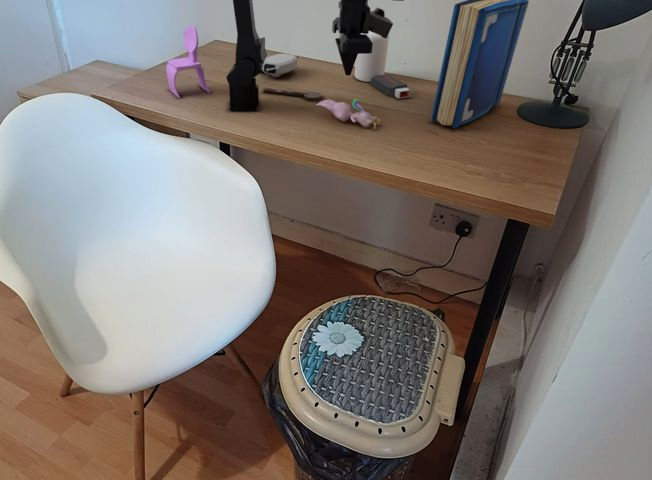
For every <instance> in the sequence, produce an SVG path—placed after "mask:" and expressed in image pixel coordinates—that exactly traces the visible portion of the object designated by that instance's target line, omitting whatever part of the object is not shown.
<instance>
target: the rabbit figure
mask: <svg viewBox="0 0 652 480" xmlns="http://www.w3.org/2000/svg"><path fill="white" fill-rule="evenodd" d="M359 102H361V100H360V99H358V98H354V99H353V100H352V103H351V106H352V107H353V109H354V110H357V111H358V112H352V108H351V106H350V105H349V104H348V103H347V102H341V101H340V102H337V101H335V100H333V99H324V100H320V101H319V102H318V103H316V106H322V107H323V108H325V109H327V110H328V111H330V112H331V113H333V116H334V117H335V118H336V119H338V120H340V121H341V122H344V123H345V122H346V121H349V120H351V122H352V123H354V124H355V123H359V124H360V125H361V126H362V127H363V128H370V127H371V125H372V124H373V130H375V128H376V127H377V125H380V122H381V118H378V116H372V115H371V114H370V112H367V111H366V110H364V108H363V107H362V105H360V104H359ZM375 120H377V121H375Z"/></svg>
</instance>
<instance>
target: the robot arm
mask: <svg viewBox="0 0 652 480" xmlns="http://www.w3.org/2000/svg"><path fill="white" fill-rule="evenodd" d="M393 1H394V2H395V1H399V2H404V1H405V0H393ZM253 2H254V1H253V0H232V4H233V12H234V20H235V27H236V33H237V34H236V45H235V62H234V64H233V65H232V67H231V69H230V70H229V71H228V73H227V75H226V77H225V78H226V81H227V83H228V92H229V93H228V94H229V109H228V110H229V111H231V112H237V111H238V112H239V111H240V112H242V111H244V112H245V111H247V112H249V111H252V112H253V111H258V107H259V105H260V93H259V92H260V89H259V88H260V87H259V84H257V78H256V77H257V76H258V75H259V74H260V72H261V71H262V70H261V68H262V66H263V64H264V61H265V59H266V57H267V54H268V53H267V51H266V37H265V36H263V37H259V34H258V31H257V28H256V20H255V12H254V3H253ZM368 3H369V0H339V1H338V9H339V15H338V16H337V17H335V19H334V20H333V21H332V23H331V24H332V26H331V27H332V28H331V31H332V33H333V34H337V32H338V34H339V35H338V36H339V37H335V39H334V41H335V43H336V47H337V50H338V53H339V58H340V61H341V64H342V68H343V71H344V75H345V76H347V77H348V76H352V72H353V69H354V66H355V65H356V58H357V55H358V54H370V53H372V46H373V43H372V41H371V40H370V38H369V37H368V36H367V35H366V34H368V33H369V31H371V32H373V33H376V34H378V35H381V37H383V38H387V36H388V34H389V35H390V32H391V30H392V27H393V26H394V23H393V21H391V19H390V18H388V17H386V16H385V15H386V13H385V10H384V9H383V8H380V7H376V8H374V10H373V11H372V10H371V7H370V6H369V5H368ZM361 33H363V34H361Z"/></svg>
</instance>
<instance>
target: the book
mask: <svg viewBox="0 0 652 480" xmlns="http://www.w3.org/2000/svg"><path fill="white" fill-rule="evenodd" d="M528 6H529V0H464V1H460V2H457V3H455V4H454V6H453V11H452V14H451V15H452V16H451V19H450V25H449V30H448V35H447V39H446V43H445V49H444V54H443V59H442V62H441V63H442V64H441V69H440V73H439V78H438V81H437V87H436V93H435V97H434V102H433V107H432V112H431V116H430V119H431V121H432V122H435V121H437V122H438V123H439V124H441V125H442V126H451V127H452V129H456V128H459V127H462V126H463V125H466V124H469V123H470V122H473V121H475V120H477V119H479V118H480V117H483V116H484V115H486V114H488V113H489V112H490V111H491V110H492V109H495V108H496V107H498V106H499V105H500V104H501V100H502V96H503V92H504V90H505V87H506V86H505V85H506V83H507V79H508V77H509V72H510V69H511V65H512V62H513V58H514V55H515V51H516V47H517V44H518V40H519V38H520V34H521V31H522V27H523V23H524V20H525V16H526V14H527V9H528Z"/></svg>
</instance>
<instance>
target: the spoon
mask: <svg viewBox="0 0 652 480" xmlns="http://www.w3.org/2000/svg"><path fill="white" fill-rule="evenodd" d="M262 92H263V93H267V94H274V95H275V94H276V95H283V96H291V97H299V98H303V100H305V101H308V102H318V101H319V102H320V101H322V94H321V92H319V91H306V92H301V91H295V90H294V91H293V90H286V89H280V88H279V89H278V88H277V89H276V88H270V87H264V88H263V89H262Z"/></svg>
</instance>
